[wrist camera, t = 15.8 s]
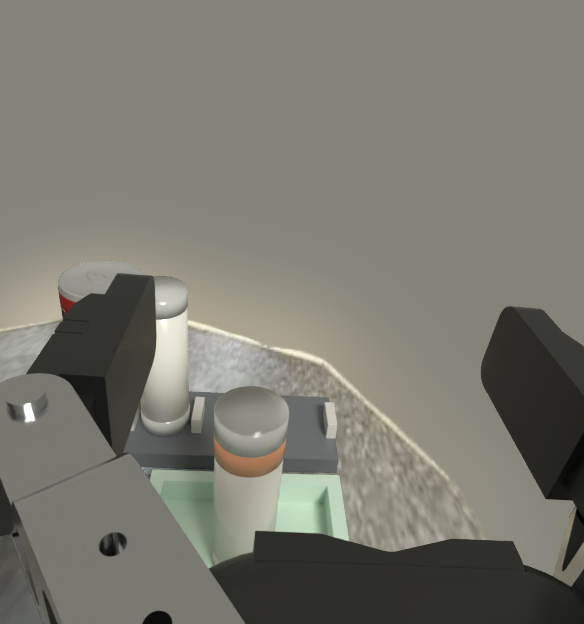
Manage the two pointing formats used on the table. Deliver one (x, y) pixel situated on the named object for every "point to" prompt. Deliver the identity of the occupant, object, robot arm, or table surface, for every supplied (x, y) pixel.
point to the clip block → (200, 437)
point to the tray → (291, 509)
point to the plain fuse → (168, 363)
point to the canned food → (90, 280)
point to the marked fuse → (246, 467)
